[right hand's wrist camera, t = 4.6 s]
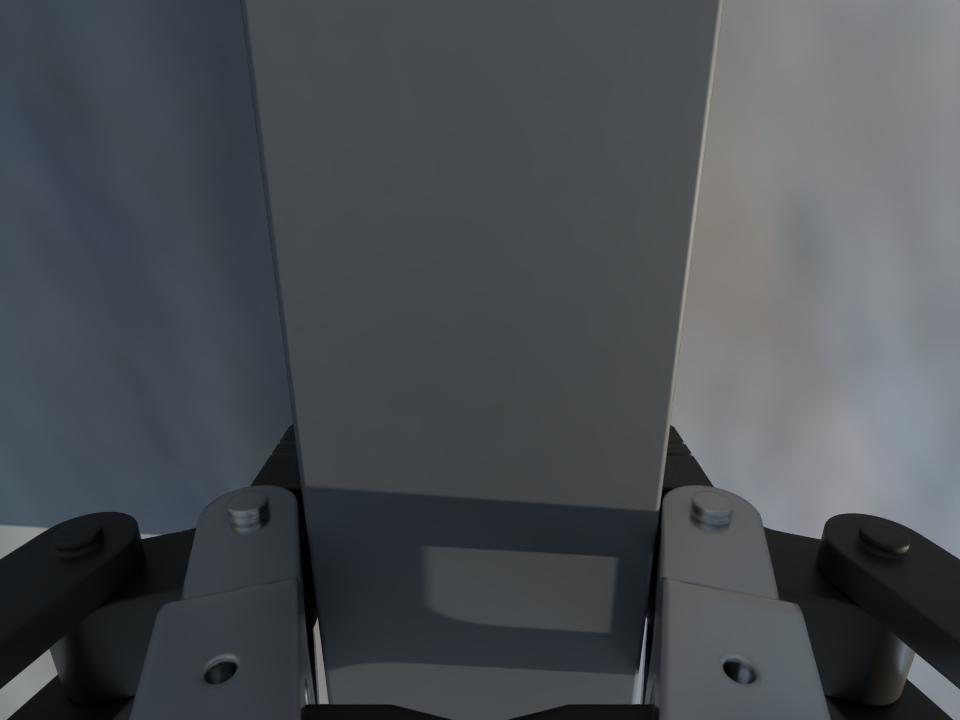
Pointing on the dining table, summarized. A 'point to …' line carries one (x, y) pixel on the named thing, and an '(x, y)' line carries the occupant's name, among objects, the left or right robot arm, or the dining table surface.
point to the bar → (481, 328)
